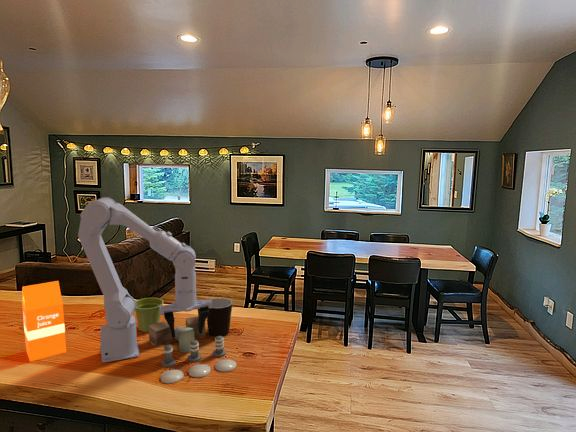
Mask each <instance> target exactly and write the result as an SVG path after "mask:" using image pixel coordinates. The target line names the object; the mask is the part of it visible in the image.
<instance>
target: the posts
mask: <svg viewBox="0 0 576 432" xmlns="http://www.w3.org/2000/svg"><path fill="white" fill-rule="evenodd" d="M224 337H225V336H224ZM224 337H222V336H217V337H214V348H215V349H214V350H213V351H212V355H213V357H215V358H223V357H225V356H226V354H227V351H226V349H224V347H225V346H224V343H225V342H224V340H225V339H224ZM163 346H164V347H163V350H162V351H163V355H164V356H163V357H164V358H163V359H162V360H161V367H163V368H170V367H174V366H175V365H176V358H173V351H174V350H173V349H174V348H173V345H172V344H164V345H163ZM199 346H200V344H199V340H197V339H194V340H193V341H191V343H190V354H189V355H188V356H187V361H188V362H190V363H196V362H199V361H201V360H202V355H201V354H200V353H199V350H200V347H199Z"/></svg>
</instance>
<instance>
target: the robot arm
mask: <svg viewBox="0 0 576 432" xmlns="http://www.w3.org/2000/svg"><path fill="white" fill-rule="evenodd" d="M79 217H80V220H79V221H80V222H79V228H78V233H77V237H78V239H79V242H80V244H81V246H82V249H83V251H84V253H85V255H86V258H87V260H88V263H89V265H90V267H91V269H92V272H93V274H94V277H95V278H96V282H97V283H98V285H99V288H100V290H101V293H102V295H103V308H104V310H105V317H104V318H105V322H106V324H104V325H101V326H100V327H99V328H100V334H99V335H100V337H99V338H100V345H99V353H100V355H101V363H109V362H114V361H120V360H126V359H132V358H137V357H140V349H139V344H138V343H139V342H137V341H138V340H137V339H138V337H137V318H136V317H135V316H134V314H133V313H134V312H136V311H135V309H136V301H137V300H136V299H135V298H134V297H133V296H131V294H130V293H129V292H128V290H127V288H125V287H123V285H122V282H121V280H120V277H119V275H118V272H117V270H116V268H115V265H114V263H113V260H112V257H111V256H110V253H109V250H108V248H107V246H106V244H105V241H104V239H103V237H102V234H103V232H104V231H105V228H106V227H107V226H108V224H109V226H124V227H126V228H127V229H129V230H131V231H132V232H134V233H135V234H137V235H138V236H140V237H142V238H144V239H146V240H147V241H148V242H149V248H151V249H152V250H153V251H155V252H157V253H158V254H159V255H161V256H162V257H164V258H165V259H166V260H168V261H170V262H172V264H173V266H174V269H175V274H174V284H175V285H174V286H175V287H174V289H175V291H174V292H175V302H172V303H170V304H166V305H162V306H160V307H159V311H160V316H164V319H165V322H166V323H168V325H169V327H170V329H171V334H172V339H175V316H174V314H175V313H180V312H192V311H195V310H197V316H198V331H199V333H200V334H201V333H202V330H203V326H204V323H205V324H206V321H207V316H208V315H209V309H208V308H212V301H211V300H210V299H197V274H196V267H195V265H196V257H197V255H196V252H195V250H194V249H193V248H192V246H191V245H187V244H186V243H185V242H180V241H179V240H178V239H176V238H175V237H173V236H172V235H173V234H172V232H170V231H167V232H166V231H165V230H155V229H154V228H153V227H151V226H150V225H149V224H147V223H146V222H145V221H143V220H142V219H141V218H139V217H138V216H137V215H136V214H135V213H133V212H132V211H131V210H129V209H128V208H126V207H125V206H124V205H123V204H122V203H119V202H116V201H115V200H114V199H112V198H111V197H106V196H105V197H101V198H98V199H97V200H92V201H90V202H89V203H87V204H86V205H85V207H84V209H82V211H81V213H80V215H79Z"/></svg>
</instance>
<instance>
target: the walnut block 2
mask: <svg viewBox="0 0 576 432" xmlns="http://www.w3.org/2000/svg"><path fill="white" fill-rule="evenodd" d="M185 328H193V329H194V340H197V339H202V338H206V322H205V323H204V326H203V330H202V333H201V334H200V333H199V331H198V315H197V316H193V317H185Z"/></svg>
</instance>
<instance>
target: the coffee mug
mask: <svg viewBox="0 0 576 432" xmlns="http://www.w3.org/2000/svg"><path fill="white" fill-rule="evenodd" d="M209 300H211V301H212V308H208V309H209V315H208V316H207V318H206V324H207V331H208V335H209V336H210V337H213V338H216V337H217V336H222V337H226V336H228V335H229V334H230V327H231V320H232V319H231V318H232V311H233V300H232V299H229V298H226V297H216V298H215V297H213V298H210V299H209Z"/></svg>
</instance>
